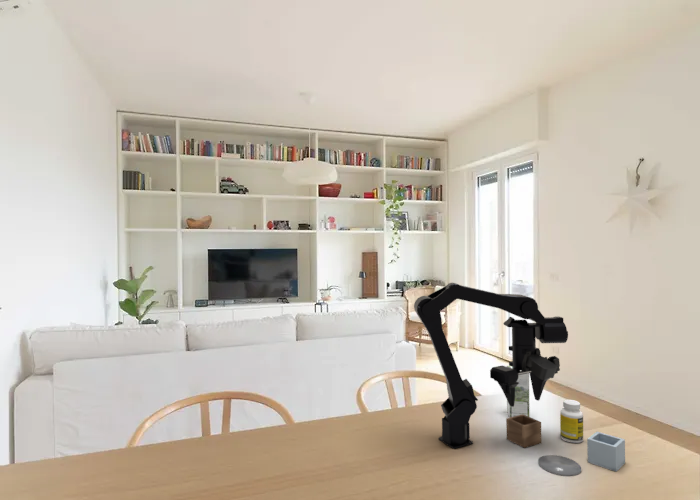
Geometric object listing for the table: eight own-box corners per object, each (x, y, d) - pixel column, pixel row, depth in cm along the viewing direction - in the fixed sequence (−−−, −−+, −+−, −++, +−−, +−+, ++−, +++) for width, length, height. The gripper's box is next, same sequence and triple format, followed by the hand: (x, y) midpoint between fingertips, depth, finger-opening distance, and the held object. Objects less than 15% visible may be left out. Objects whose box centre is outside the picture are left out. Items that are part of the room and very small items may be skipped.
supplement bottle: (581, 445, 110) (580, 407, 110) (558, 440, 113) (557, 403, 113) (585, 438, 114) (584, 401, 114) (562, 433, 117) (562, 397, 117)
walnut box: (524, 448, 109) (524, 426, 109) (506, 439, 114) (506, 418, 114) (541, 443, 112) (541, 422, 112) (523, 434, 117) (522, 414, 117)
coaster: (563, 479, 94) (563, 478, 94) (529, 461, 102) (529, 460, 102) (590, 470, 98) (590, 468, 98) (555, 453, 106) (555, 451, 106)
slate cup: (616, 471, 97) (615, 447, 97) (587, 462, 101) (587, 438, 101) (625, 462, 101) (624, 439, 101) (597, 453, 105) (597, 431, 105)
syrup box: (526, 412, 132) (525, 365, 132) (530, 420, 126) (529, 371, 126) (506, 411, 133) (506, 364, 133) (509, 419, 128) (508, 370, 128)
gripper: (522, 354, 101) (523, 420, 101) (575, 345, 109) (576, 406, 110) (488, 345, 111) (489, 405, 111) (539, 337, 120) (540, 393, 120)
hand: (524, 403), depth 113 cm, fingers open, 9 cm apart
